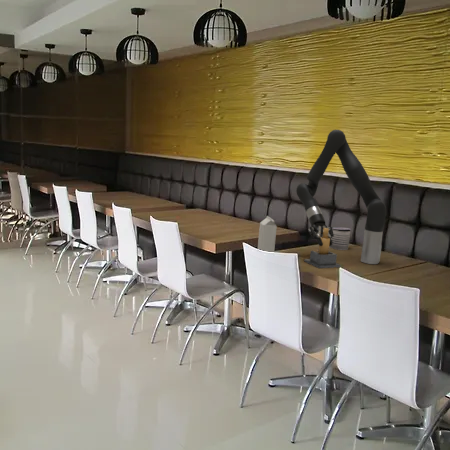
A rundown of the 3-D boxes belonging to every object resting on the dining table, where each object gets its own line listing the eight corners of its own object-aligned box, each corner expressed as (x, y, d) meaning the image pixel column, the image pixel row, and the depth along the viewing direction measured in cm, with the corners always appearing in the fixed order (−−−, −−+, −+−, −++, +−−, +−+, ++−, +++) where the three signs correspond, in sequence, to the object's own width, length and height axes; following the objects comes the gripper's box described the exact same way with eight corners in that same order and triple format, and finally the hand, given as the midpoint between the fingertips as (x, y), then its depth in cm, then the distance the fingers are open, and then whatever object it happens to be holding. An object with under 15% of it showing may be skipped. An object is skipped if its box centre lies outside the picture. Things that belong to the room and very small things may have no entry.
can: (334, 249, 302) (336, 229, 300) (325, 245, 313) (327, 225, 311) (352, 250, 305) (354, 229, 303) (342, 245, 316) (345, 226, 314)
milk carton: (261, 252, 280) (265, 217, 277) (257, 249, 287) (260, 215, 283) (274, 253, 282) (277, 218, 279) (269, 249, 289) (272, 215, 285)
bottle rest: (304, 261, 269) (305, 249, 268) (325, 260, 275) (326, 248, 274) (318, 268, 258) (320, 256, 256) (340, 267, 263) (341, 255, 262)
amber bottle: (321, 257, 269) (325, 226, 266) (329, 260, 266) (333, 229, 263) (315, 258, 266) (318, 227, 263) (323, 261, 262) (326, 229, 259)
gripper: (307, 212, 265) (318, 241, 257) (330, 213, 271) (342, 241, 263) (300, 221, 271) (310, 249, 262) (323, 221, 277) (334, 248, 269)
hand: (326, 245), depth 263 cm, fingers closed on amber bottle, 5 cm apart
